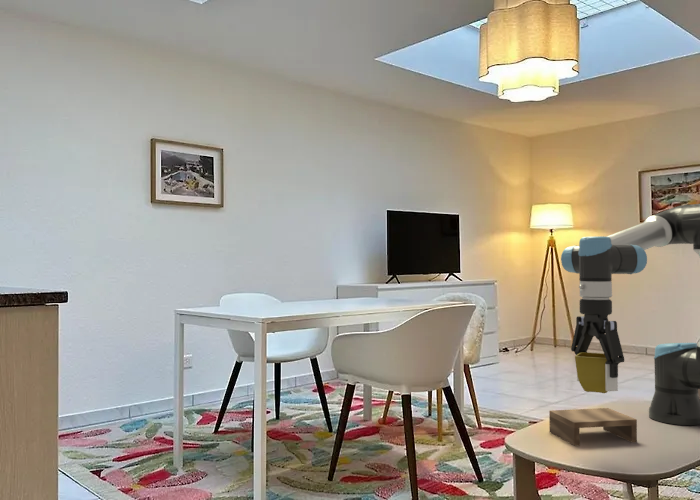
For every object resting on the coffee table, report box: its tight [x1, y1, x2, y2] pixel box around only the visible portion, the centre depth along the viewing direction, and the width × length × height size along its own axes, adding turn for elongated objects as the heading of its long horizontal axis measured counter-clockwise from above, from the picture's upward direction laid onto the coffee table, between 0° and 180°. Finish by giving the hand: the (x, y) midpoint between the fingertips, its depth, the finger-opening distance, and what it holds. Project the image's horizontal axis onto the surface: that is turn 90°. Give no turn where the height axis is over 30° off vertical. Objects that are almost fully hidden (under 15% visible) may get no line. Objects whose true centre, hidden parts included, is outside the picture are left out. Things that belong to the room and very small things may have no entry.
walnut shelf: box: [548, 407, 638, 447], centre depth 168 cm, size 18×13×6 cm
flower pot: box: [574, 351, 612, 394], centre depth 153 cm, size 9×9×9 cm
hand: (596, 385), depth 153 cm, fingers closed on flower pot, 12 cm apart
